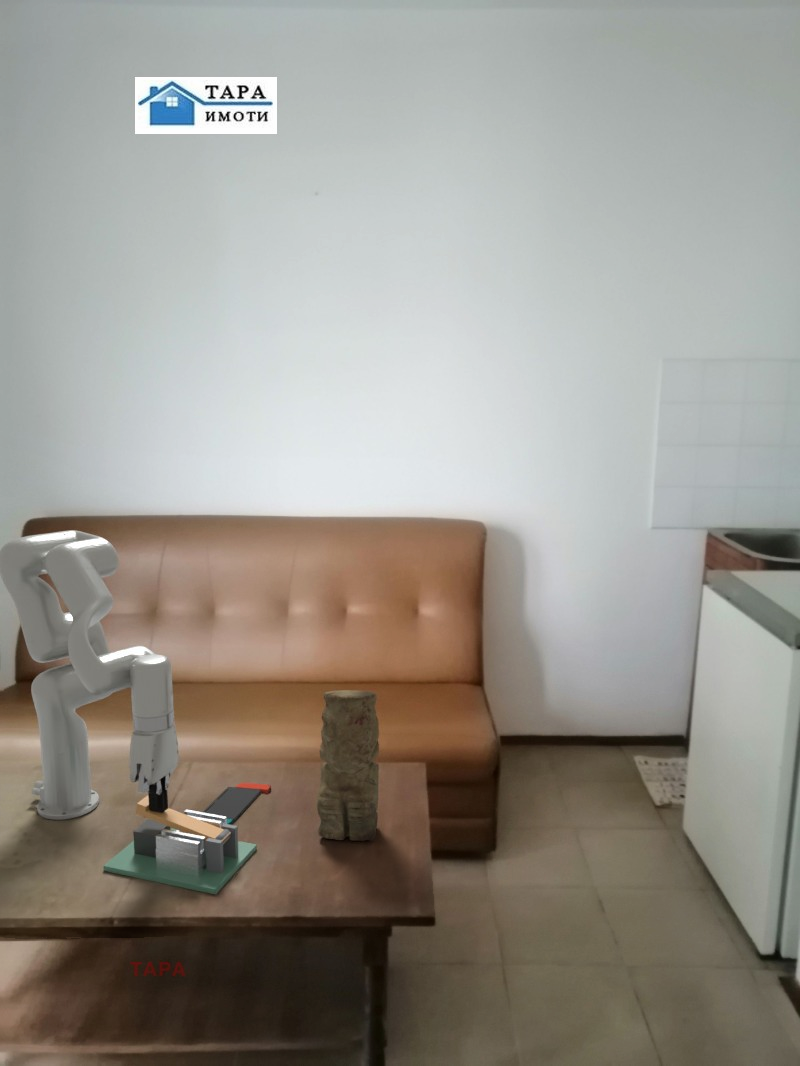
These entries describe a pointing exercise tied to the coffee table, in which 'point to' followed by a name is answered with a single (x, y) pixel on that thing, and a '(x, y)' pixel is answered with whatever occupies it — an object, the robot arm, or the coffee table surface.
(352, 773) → the sculpture
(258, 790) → the gaming console
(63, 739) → the robot arm
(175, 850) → the heat sink
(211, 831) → the tan long bar
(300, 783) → the coffee table surface
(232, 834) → the board
